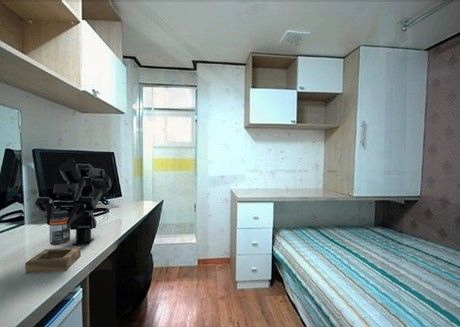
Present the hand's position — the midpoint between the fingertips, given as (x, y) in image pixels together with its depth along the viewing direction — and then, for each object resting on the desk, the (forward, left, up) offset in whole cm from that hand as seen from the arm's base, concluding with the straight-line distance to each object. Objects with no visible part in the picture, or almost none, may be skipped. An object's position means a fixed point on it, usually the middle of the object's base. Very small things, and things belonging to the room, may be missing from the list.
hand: (58, 224), depth 81 cm
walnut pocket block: (+2, 0, -13) cm, 13 cm away
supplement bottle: (-1, 0, -7) cm, 7 cm away
